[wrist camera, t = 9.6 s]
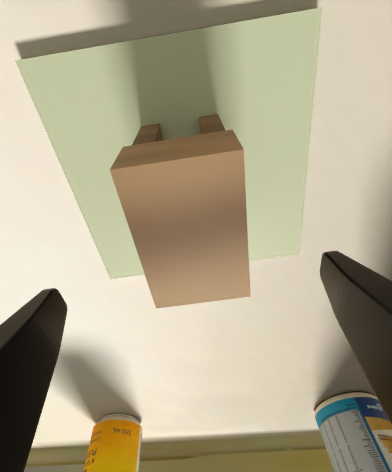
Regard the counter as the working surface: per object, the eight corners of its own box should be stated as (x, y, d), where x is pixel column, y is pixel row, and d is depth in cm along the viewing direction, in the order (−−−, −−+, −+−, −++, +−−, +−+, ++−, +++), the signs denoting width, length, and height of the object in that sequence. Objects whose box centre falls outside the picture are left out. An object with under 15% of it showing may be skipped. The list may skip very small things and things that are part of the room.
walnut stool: (231, 222, 18) (250, 296, 13) (163, 231, 19) (156, 308, 13) (221, 109, 14) (243, 149, 9) (136, 122, 15) (109, 169, 9)
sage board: (316, 8, 13) (322, 7, 12) (296, 249, 21) (299, 254, 20) (21, 59, 13) (15, 60, 13) (112, 273, 21) (110, 279, 21)
